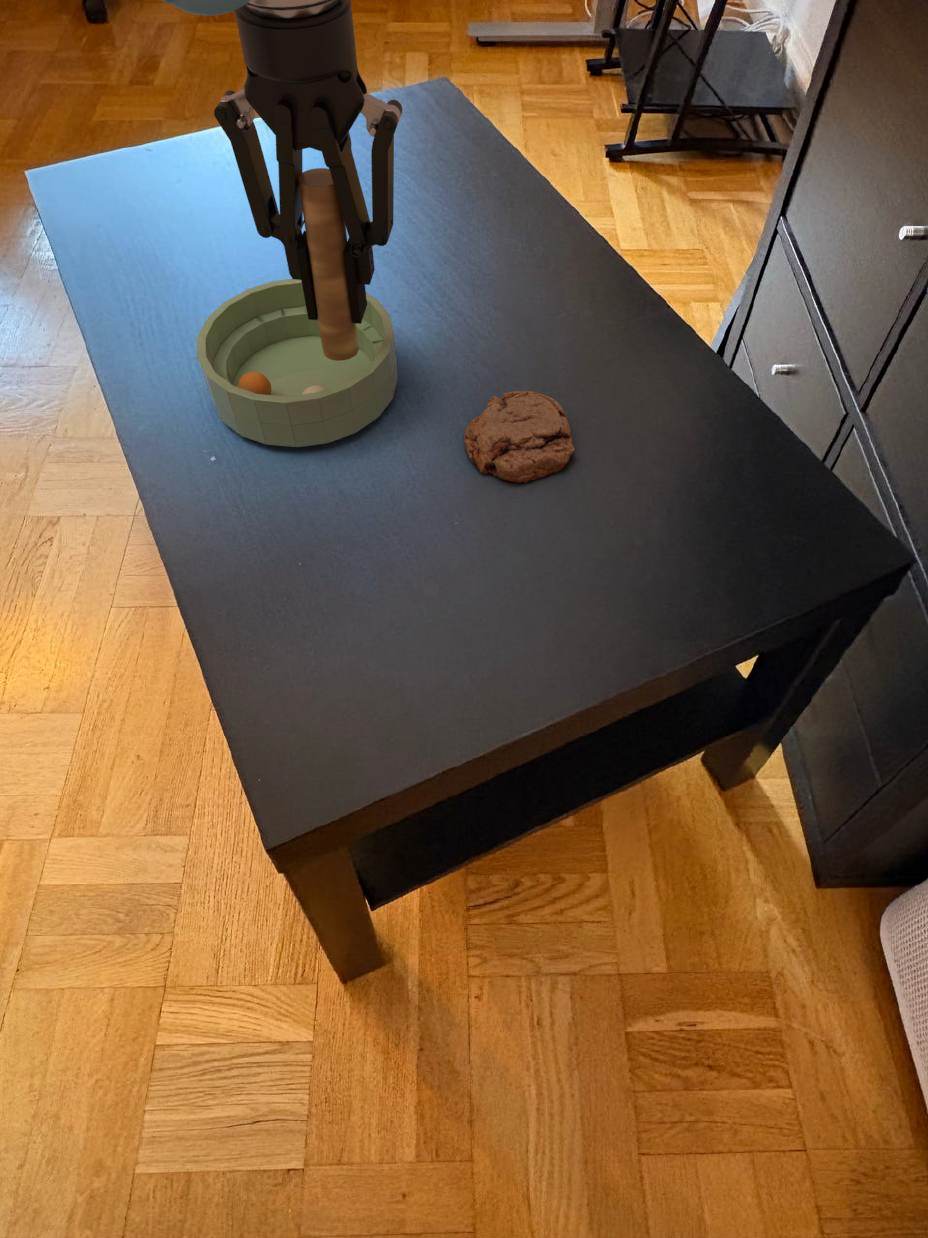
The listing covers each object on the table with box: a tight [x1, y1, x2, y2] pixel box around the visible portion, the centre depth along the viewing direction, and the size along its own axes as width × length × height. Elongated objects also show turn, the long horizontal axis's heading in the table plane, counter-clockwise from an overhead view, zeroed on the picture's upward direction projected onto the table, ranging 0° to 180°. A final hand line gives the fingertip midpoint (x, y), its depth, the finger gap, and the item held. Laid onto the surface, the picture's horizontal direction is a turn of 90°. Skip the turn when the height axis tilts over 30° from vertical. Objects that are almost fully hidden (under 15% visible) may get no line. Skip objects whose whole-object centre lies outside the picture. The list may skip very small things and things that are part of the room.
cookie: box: [463, 390, 575, 484], centre depth 75 cm, size 10×11×3 cm
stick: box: [298, 167, 359, 361], centre depth 70 cm, size 3×3×15 cm
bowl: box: [196, 278, 399, 448], centre depth 79 cm, size 18×18×6 cm
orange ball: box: [238, 372, 271, 395], centre depth 78 cm, size 3×3×3 cm
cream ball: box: [302, 386, 326, 394], centre depth 77 cm, size 3×3×3 cm
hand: (338, 311), depth 73 cm, fingers closed on stick, 3 cm apart
